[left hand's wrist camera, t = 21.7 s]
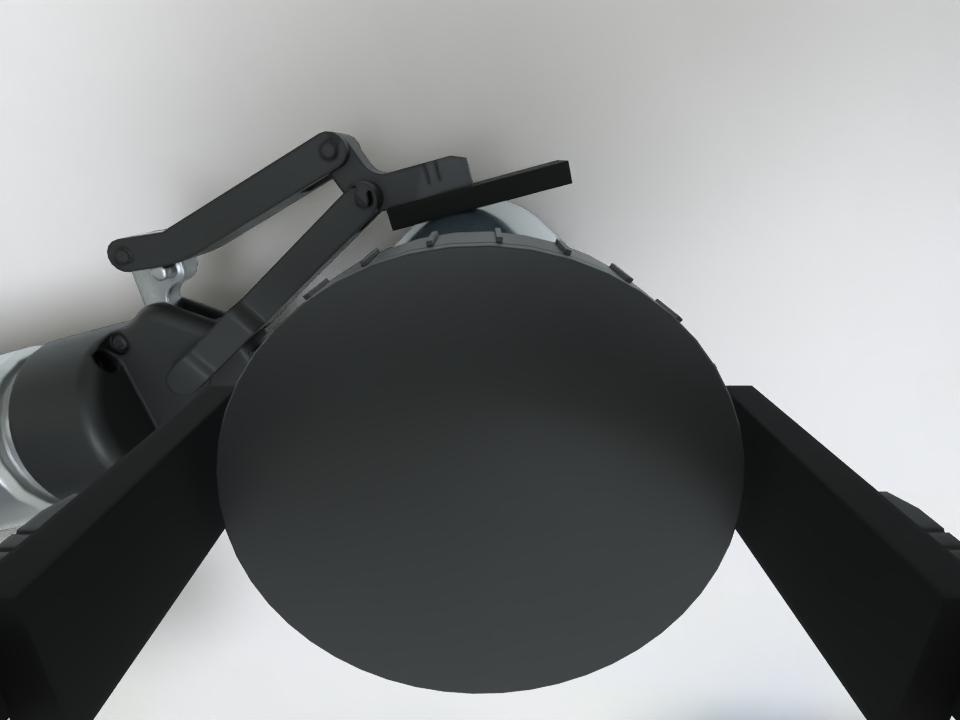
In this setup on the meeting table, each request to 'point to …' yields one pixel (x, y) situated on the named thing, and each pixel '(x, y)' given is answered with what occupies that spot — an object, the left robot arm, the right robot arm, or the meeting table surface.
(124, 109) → the meeting table surface
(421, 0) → the meeting table surface
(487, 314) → the lid
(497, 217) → the jar
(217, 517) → the left robot arm
